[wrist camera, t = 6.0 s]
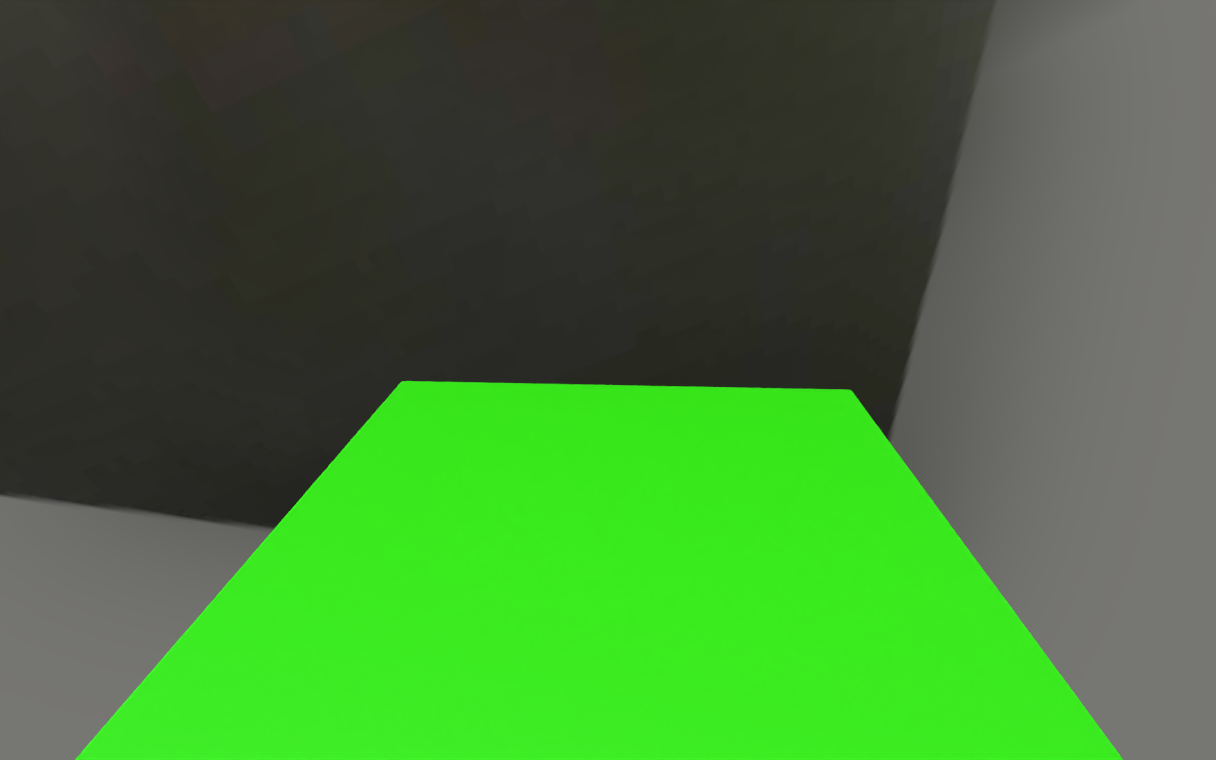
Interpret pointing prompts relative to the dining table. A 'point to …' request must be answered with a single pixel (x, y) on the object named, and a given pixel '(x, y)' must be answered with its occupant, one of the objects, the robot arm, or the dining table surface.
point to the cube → (608, 597)
